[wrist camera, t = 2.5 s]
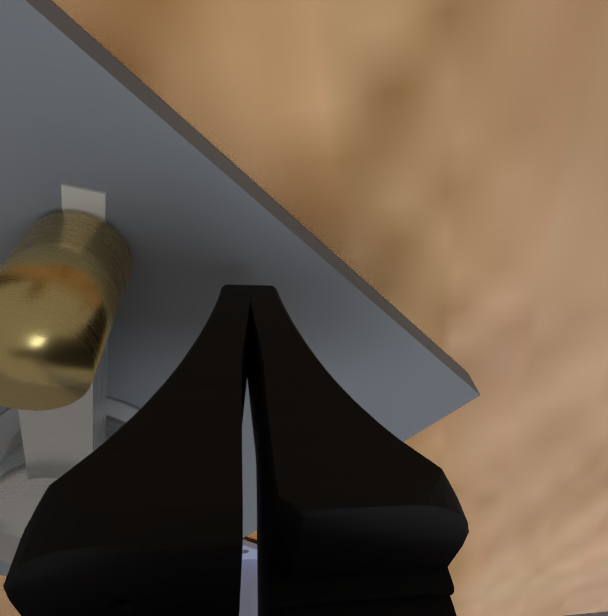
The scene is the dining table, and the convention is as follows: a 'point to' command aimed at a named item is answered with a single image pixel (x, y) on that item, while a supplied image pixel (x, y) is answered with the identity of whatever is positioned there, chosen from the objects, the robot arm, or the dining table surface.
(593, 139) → the dining table surface
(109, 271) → the lever
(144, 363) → the stand base
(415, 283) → the dining table surface
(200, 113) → the dining table surface
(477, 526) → the dining table surface
